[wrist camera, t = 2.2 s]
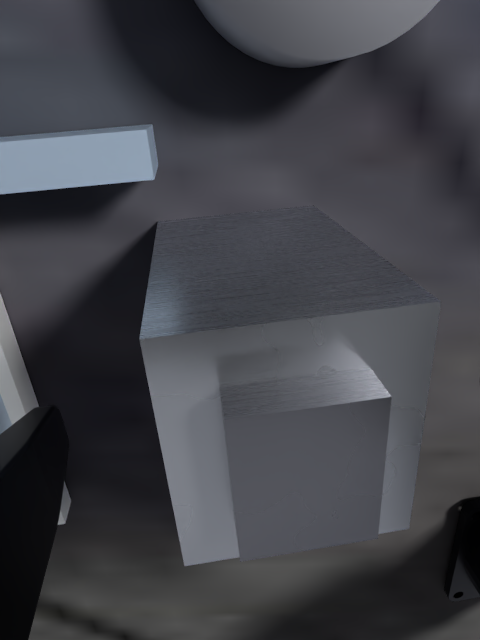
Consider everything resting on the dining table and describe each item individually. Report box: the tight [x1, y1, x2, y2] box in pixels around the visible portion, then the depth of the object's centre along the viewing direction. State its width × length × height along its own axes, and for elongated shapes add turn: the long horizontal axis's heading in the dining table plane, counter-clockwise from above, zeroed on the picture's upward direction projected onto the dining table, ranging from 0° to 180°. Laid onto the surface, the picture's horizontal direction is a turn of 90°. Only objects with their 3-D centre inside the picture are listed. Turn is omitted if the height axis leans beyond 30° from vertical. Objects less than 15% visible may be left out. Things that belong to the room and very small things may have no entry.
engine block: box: [139, 205, 441, 566], centre depth 10 cm, size 5×4×8 cm
